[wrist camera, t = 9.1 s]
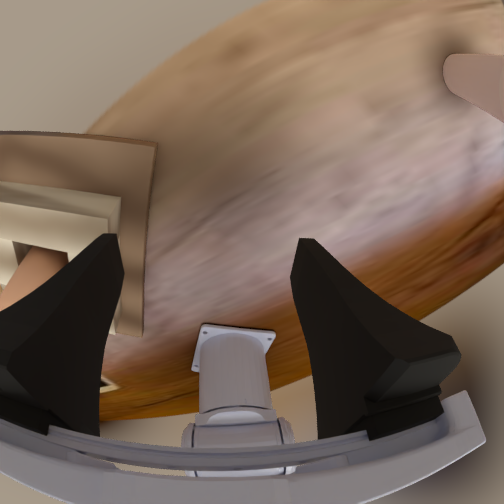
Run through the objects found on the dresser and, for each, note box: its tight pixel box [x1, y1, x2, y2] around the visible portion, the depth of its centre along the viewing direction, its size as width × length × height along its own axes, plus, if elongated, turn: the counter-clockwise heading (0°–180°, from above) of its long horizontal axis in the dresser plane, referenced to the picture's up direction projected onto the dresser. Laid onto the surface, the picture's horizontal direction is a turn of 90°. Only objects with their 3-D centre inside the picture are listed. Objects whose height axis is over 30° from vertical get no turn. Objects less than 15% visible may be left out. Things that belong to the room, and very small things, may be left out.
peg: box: [0, 245, 69, 311], centre depth 17 cm, size 4×4×8 cm
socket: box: [0, 131, 158, 338], centre depth 20 cm, size 20×16×4 cm
